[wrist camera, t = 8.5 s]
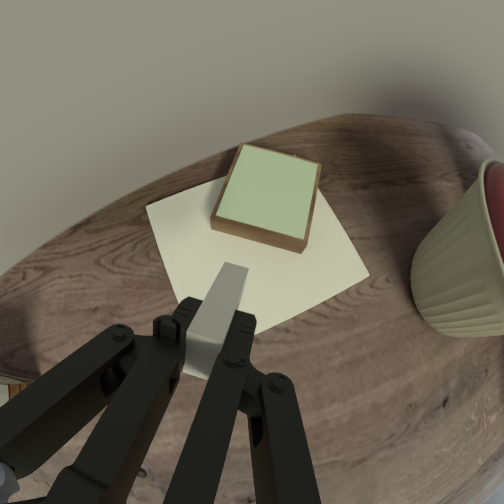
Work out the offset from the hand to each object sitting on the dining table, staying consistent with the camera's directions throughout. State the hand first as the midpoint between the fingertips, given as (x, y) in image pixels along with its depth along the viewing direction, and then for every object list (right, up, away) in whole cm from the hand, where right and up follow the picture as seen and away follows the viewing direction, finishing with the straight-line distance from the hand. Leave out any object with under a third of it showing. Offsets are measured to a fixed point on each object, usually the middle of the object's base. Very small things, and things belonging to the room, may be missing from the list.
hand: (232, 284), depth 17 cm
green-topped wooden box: (+2, +4, +11) cm, 12 cm away
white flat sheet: (+2, +3, +13) cm, 14 cm away
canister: (+26, -3, +13) cm, 29 cm away
